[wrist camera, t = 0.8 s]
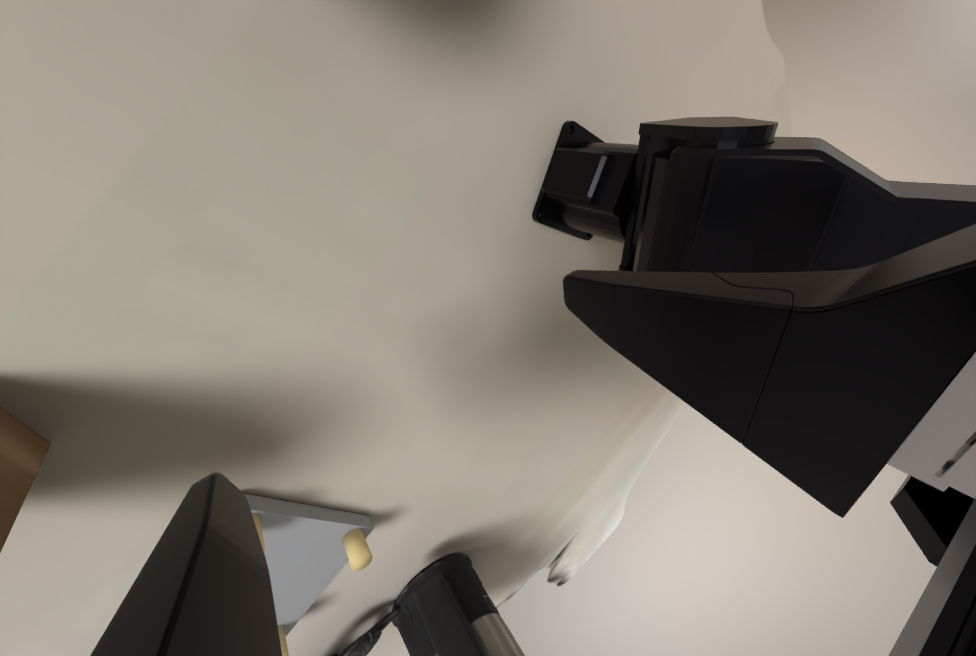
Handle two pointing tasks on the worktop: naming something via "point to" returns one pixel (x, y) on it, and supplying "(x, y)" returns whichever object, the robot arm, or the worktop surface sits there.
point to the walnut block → (16, 468)
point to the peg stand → (306, 552)
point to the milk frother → (444, 616)
